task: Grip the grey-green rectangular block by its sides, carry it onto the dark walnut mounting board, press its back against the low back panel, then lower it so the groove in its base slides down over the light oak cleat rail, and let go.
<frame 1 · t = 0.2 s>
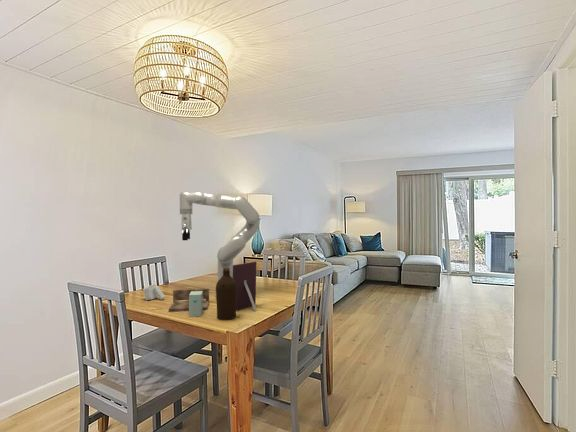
hand: (186, 239, 200), 36 cm above the table, tool pointing down, fingers open, 9 cm apart
grey-green rectangular block: (196, 313, 168), on the table
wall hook: (155, 299, 198), on the table
olive oil: (226, 317, 163), on the table
mounting board: (189, 307, 181), on the table
picture frame: (249, 309, 176), on the table
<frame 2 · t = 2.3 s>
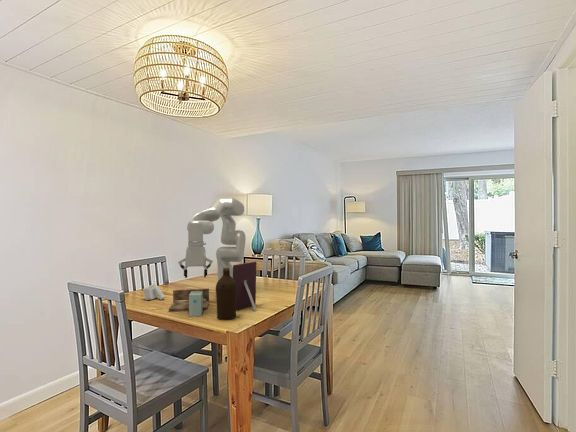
hand: (195, 277, 168), 19 cm above the table, tool pointing down, fingers open, 9 cm apart
nothing on the table moved.
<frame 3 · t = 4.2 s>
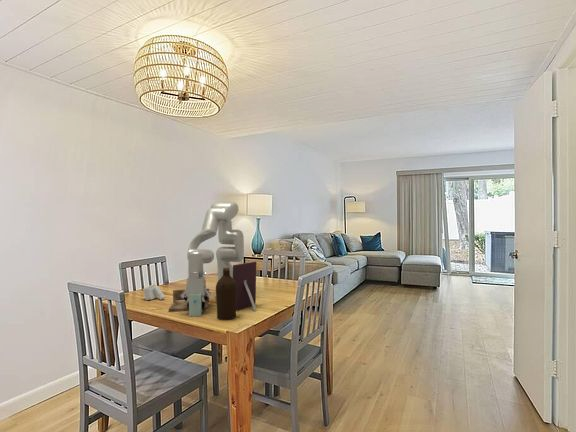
hand: (196, 308, 168), 3 cm above the table, tool pointing down, fingers closed on grey-green rectangular block, 6 cm apart
grey-green rectangular block: (196, 313, 168), on the table, touching gripper
everything else where it was.
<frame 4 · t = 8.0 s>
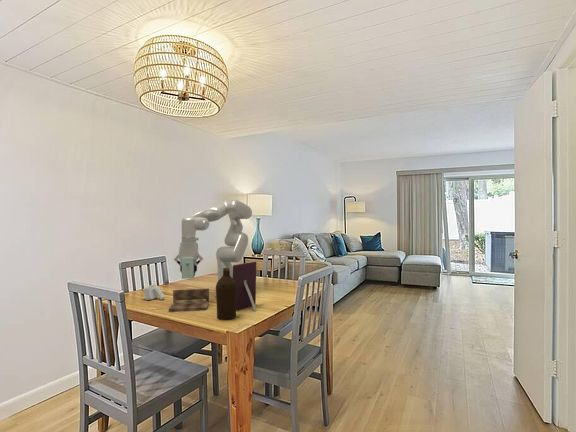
hand: (188, 272, 178), 20 cm above the table, tool pointing down, fingers closed on grey-green rectangular block, 6 cm apart
grey-green rectangular block: (188, 277, 178), point 18 cm above the table, touching gripper
everything else where it was.
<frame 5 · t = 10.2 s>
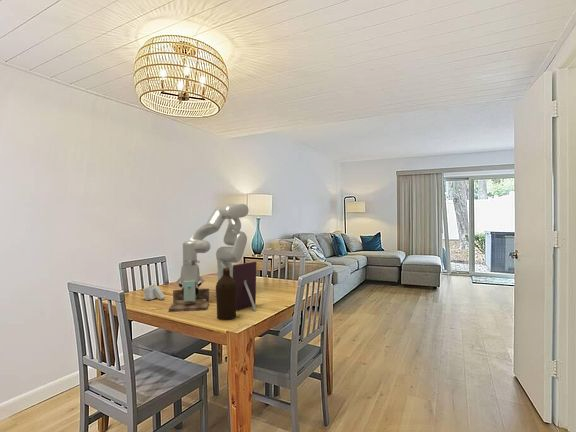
hand: (190, 294, 181), 7 cm above the table, tool pointing down, fingers closed on grey-green rectangular block, 6 cm apart
grey-green rectangular block: (190, 299, 181), point 4 cm above the table, touching gripper
everything else where it was.
when the fingers open (5 cm above the table, at t = 11.9 s): grey-green rectangular block stays where it is, resting on mounting board.
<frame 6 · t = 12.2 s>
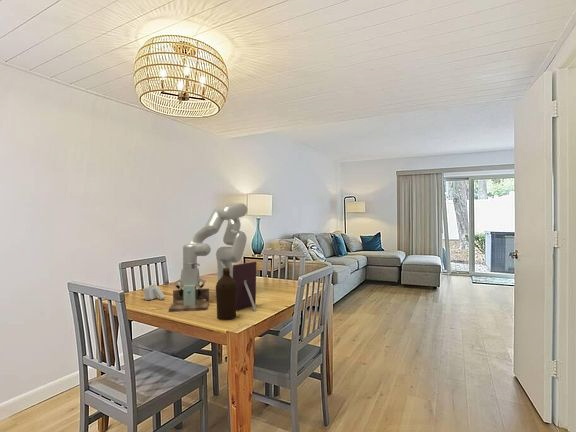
hand: (190, 296, 182), 6 cm above the table, tool pointing down, fingers open, 9 cm apart
grey-green rectangular block: (190, 304, 182), point 1 cm above the table, touching mounting board
everything else where it was.
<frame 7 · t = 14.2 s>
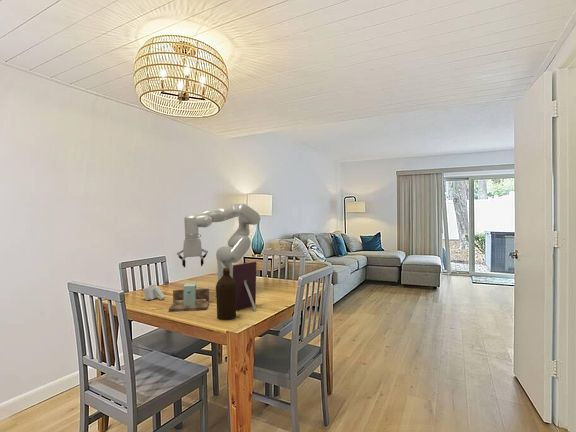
hand: (193, 266, 186), 22 cm above the table, tool pointing down, fingers open, 9 cm apart
nothing on the table moved.
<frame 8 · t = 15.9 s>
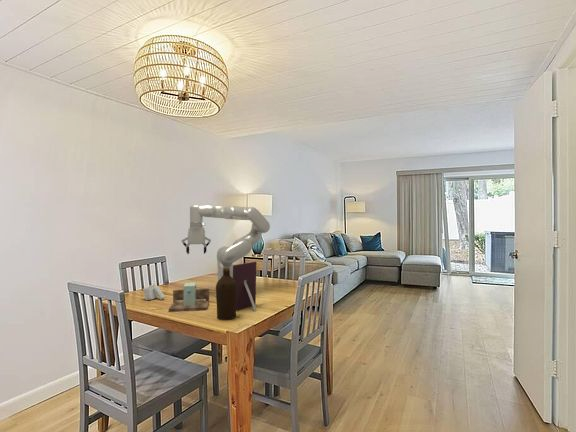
hand: (196, 253, 196), 28 cm above the table, tool pointing down, fingers open, 9 cm apart
nothing on the table moved.
at the end: grey-green rectangular block inside the target area on the mounting board (0.2 cm from its centre), point 1.5 cm above the mounting board's base; grey-green rectangular block tilted 0°; the gripper is holding nothing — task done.
